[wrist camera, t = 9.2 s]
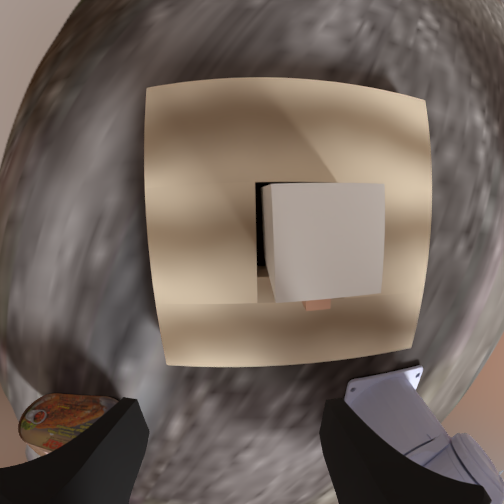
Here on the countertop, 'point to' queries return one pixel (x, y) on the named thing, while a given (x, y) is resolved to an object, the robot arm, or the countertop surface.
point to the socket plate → (244, 214)
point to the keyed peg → (323, 240)
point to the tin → (60, 419)
